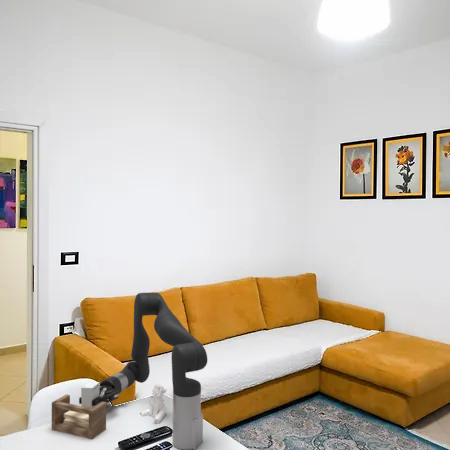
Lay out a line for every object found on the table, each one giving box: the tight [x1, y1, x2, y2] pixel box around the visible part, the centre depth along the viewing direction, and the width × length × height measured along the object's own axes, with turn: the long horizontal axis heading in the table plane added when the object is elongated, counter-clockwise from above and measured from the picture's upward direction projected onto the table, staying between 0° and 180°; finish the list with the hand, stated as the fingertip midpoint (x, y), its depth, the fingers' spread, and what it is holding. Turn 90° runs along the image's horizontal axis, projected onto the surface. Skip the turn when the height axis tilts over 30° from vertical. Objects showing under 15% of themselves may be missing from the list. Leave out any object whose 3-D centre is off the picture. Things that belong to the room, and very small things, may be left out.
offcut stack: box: [63, 411, 89, 430], centre depth 160 cm, size 12×5×5 cm, turn 69°
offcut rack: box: [51, 394, 107, 440], centre depth 159 cm, size 17×8×10 cm, turn 69°
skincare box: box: [80, 381, 100, 408], centre depth 166 cm, size 6×4×12 cm
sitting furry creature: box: [139, 384, 167, 425], centre depth 171 cm, size 10×9×12 cm
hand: (86, 402), depth 164 cm, fingers closed on skincare box, 4 cm apart
